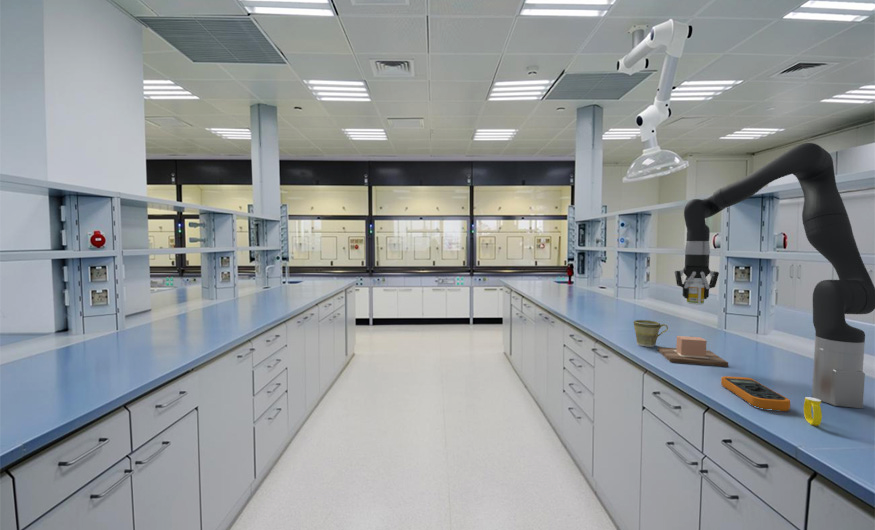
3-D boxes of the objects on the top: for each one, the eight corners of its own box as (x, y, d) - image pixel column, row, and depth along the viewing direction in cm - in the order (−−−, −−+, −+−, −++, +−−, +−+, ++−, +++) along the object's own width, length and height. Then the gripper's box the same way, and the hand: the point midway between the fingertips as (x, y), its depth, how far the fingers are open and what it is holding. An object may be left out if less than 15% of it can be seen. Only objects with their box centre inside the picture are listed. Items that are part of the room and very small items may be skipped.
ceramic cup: (635, 347, 158) (636, 323, 158) (630, 341, 168) (631, 319, 167) (670, 349, 154) (671, 325, 154) (663, 343, 164) (664, 320, 164)
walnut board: (728, 366, 133) (728, 362, 133) (670, 362, 138) (670, 357, 138) (709, 354, 148) (709, 350, 148) (657, 350, 153) (657, 346, 153)
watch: (799, 418, 94) (800, 394, 94) (814, 420, 92) (815, 396, 93) (809, 426, 88) (810, 401, 88) (825, 429, 87) (826, 403, 87)
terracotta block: (705, 356, 139) (706, 340, 139) (681, 355, 141) (681, 339, 141) (700, 352, 144) (700, 337, 144) (676, 351, 147) (676, 335, 146)
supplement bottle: (698, 302, 144) (699, 277, 144) (707, 304, 139) (708, 278, 139) (683, 302, 145) (684, 277, 145) (691, 304, 140) (692, 278, 139)
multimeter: (756, 411, 98) (756, 398, 97) (719, 386, 115) (719, 375, 115) (794, 414, 96) (795, 401, 96) (751, 388, 114) (751, 377, 113)
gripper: (715, 253, 142) (713, 298, 143) (672, 253, 147) (670, 296, 148) (724, 253, 135) (721, 300, 136) (678, 253, 140) (676, 299, 141)
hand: (695, 298), depth 142 cm, fingers closed on supplement bottle, 5 cm apart
